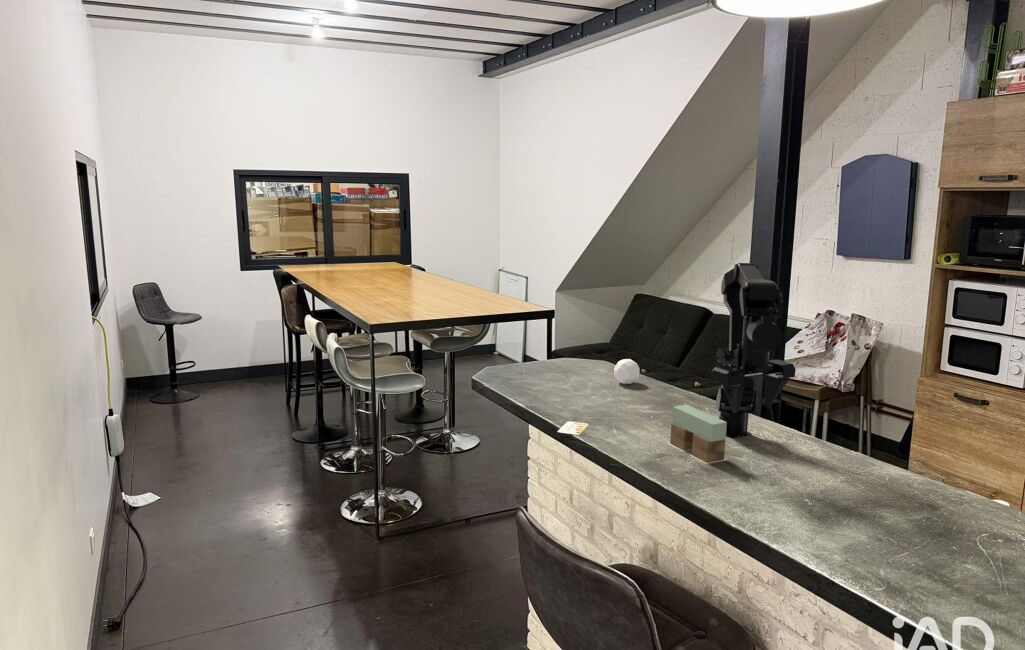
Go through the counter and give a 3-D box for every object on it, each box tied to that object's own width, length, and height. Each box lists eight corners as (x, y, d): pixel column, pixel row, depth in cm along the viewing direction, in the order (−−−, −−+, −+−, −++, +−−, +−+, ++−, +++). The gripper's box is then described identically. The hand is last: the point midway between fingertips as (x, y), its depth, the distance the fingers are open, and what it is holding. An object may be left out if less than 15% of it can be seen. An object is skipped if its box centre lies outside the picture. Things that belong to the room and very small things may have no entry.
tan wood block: (709, 452, 160) (710, 431, 159) (724, 459, 155) (725, 438, 154) (691, 455, 158) (692, 434, 157) (706, 462, 153) (707, 441, 152)
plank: (685, 420, 166) (686, 404, 165) (725, 439, 154) (726, 422, 153) (672, 422, 165) (673, 406, 164) (711, 441, 152) (712, 424, 151)
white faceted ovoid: (614, 376, 213) (601, 371, 225) (634, 390, 215) (621, 385, 226) (628, 355, 214) (615, 351, 225) (648, 370, 215) (634, 365, 227)
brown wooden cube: (687, 440, 167) (688, 420, 166) (700, 447, 162) (702, 427, 161) (670, 443, 165) (671, 423, 164) (683, 450, 160) (684, 430, 159)
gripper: (762, 330, 159) (757, 395, 162) (696, 336, 152) (692, 405, 155) (800, 339, 149) (794, 409, 152) (732, 346, 142) (727, 419, 145)
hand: (751, 410), depth 151 cm, fingers open, 9 cm apart
